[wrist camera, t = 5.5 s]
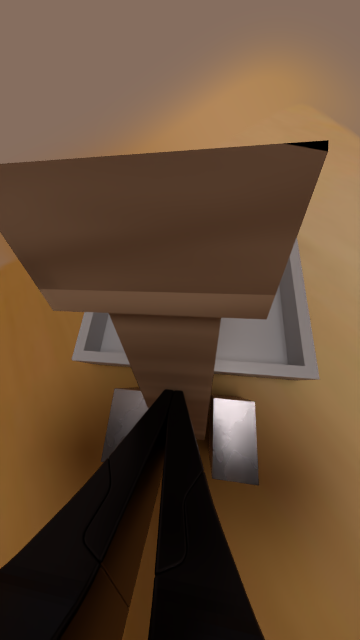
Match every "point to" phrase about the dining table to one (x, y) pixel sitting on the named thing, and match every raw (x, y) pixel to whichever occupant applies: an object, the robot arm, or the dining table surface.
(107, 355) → the tray
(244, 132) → the dining table surface
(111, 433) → the lever stand
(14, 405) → the dining table surface
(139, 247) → the lever
